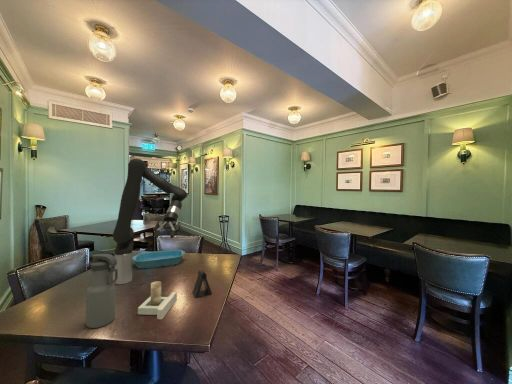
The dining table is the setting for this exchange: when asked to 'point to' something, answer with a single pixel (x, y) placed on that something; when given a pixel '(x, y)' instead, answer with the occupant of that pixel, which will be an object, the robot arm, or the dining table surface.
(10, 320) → the dining table surface
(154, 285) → the dowel
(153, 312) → the pale green square frame
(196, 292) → the phone stand
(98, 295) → the water bottle
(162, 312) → the backstop wall
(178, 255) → the casserole dish
